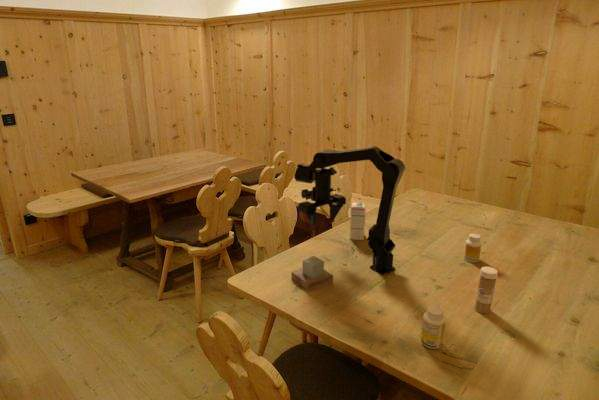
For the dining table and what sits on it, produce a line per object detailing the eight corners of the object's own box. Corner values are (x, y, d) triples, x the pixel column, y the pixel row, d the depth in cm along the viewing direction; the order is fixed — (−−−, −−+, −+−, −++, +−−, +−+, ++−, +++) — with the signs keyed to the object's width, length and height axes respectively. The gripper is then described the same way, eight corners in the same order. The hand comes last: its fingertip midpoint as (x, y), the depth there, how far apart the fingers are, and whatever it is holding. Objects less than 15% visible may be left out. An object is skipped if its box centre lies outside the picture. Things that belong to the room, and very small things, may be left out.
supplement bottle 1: (435, 335, 110) (440, 302, 106) (446, 348, 104) (451, 315, 101) (416, 337, 109) (420, 304, 105) (426, 351, 103) (430, 317, 100)
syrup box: (363, 240, 167) (365, 207, 162) (349, 239, 168) (350, 206, 163) (364, 234, 172) (366, 202, 167) (350, 233, 173) (352, 201, 168)
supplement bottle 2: (480, 263, 148) (484, 239, 145) (464, 262, 149) (468, 238, 146) (477, 256, 153) (481, 233, 150) (462, 255, 154) (465, 232, 151)
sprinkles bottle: (472, 310, 120) (478, 270, 116) (477, 303, 124) (483, 264, 119) (488, 316, 118) (495, 275, 113) (492, 309, 121) (500, 269, 117)
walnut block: (332, 283, 136) (333, 275, 135) (308, 292, 130) (309, 284, 129) (314, 271, 144) (314, 263, 143) (291, 279, 138) (291, 271, 137)
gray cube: (323, 274, 136) (323, 260, 134) (312, 279, 132) (312, 265, 131) (313, 268, 139) (313, 255, 137) (302, 273, 136) (302, 260, 134)
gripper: (327, 176, 157) (327, 213, 163) (289, 184, 147) (289, 224, 152) (347, 182, 149) (346, 221, 154) (307, 192, 138) (307, 233, 144)
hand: (322, 225), depth 151 cm, fingers open, 9 cm apart
